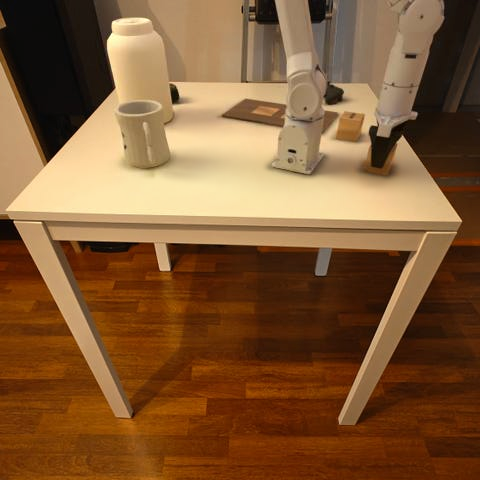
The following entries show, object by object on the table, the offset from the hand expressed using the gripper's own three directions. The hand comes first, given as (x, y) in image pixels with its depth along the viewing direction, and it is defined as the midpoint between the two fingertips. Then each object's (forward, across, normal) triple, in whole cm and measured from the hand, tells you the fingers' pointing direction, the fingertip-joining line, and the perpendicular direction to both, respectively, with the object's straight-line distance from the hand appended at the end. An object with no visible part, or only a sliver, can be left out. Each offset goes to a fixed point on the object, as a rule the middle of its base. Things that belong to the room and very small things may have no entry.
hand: (379, 161), depth 69 cm
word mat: (+1, +19, +28) cm, 34 cm away
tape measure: (+2, +16, +60) cm, 62 cm away
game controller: (+2, +37, +21) cm, 43 cm away
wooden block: (+1, 0, 0) cm, 1 cm away
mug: (+2, -17, +42) cm, 45 cm away
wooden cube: (+1, +13, +9) cm, 16 cm away
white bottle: (+2, +3, +57) cm, 57 cm away
